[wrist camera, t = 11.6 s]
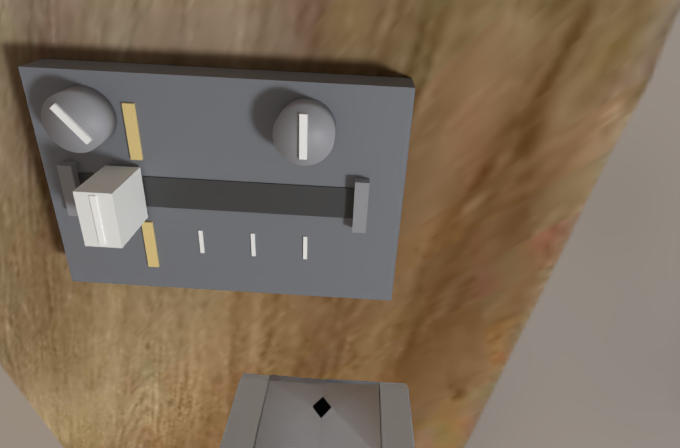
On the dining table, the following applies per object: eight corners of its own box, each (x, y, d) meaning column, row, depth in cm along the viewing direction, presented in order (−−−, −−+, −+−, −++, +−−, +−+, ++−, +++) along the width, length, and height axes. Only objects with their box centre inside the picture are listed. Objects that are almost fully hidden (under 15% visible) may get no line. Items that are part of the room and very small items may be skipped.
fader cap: (105, 165, 35) (71, 192, 31) (140, 167, 35) (111, 194, 31) (114, 215, 37) (84, 246, 33) (148, 217, 37) (121, 248, 33)
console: (43, 58, 35) (-4, 73, 31) (411, 77, 35) (418, 96, 30) (90, 261, 43) (58, 297, 39) (389, 279, 43) (392, 317, 38)
